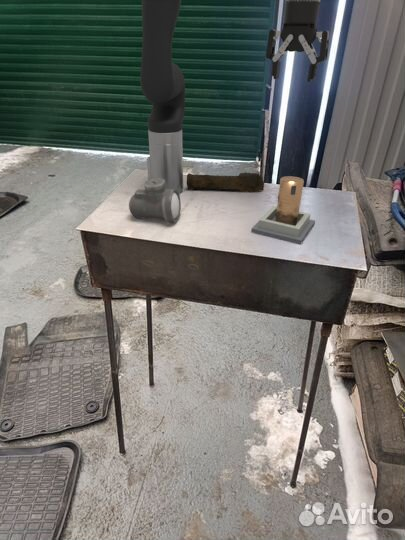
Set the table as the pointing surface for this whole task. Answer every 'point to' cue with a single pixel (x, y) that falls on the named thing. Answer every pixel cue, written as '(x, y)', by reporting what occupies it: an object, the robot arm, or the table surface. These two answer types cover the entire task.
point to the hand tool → (227, 182)
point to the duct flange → (283, 227)
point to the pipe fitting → (156, 201)
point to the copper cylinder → (289, 200)
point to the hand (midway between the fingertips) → (292, 80)
